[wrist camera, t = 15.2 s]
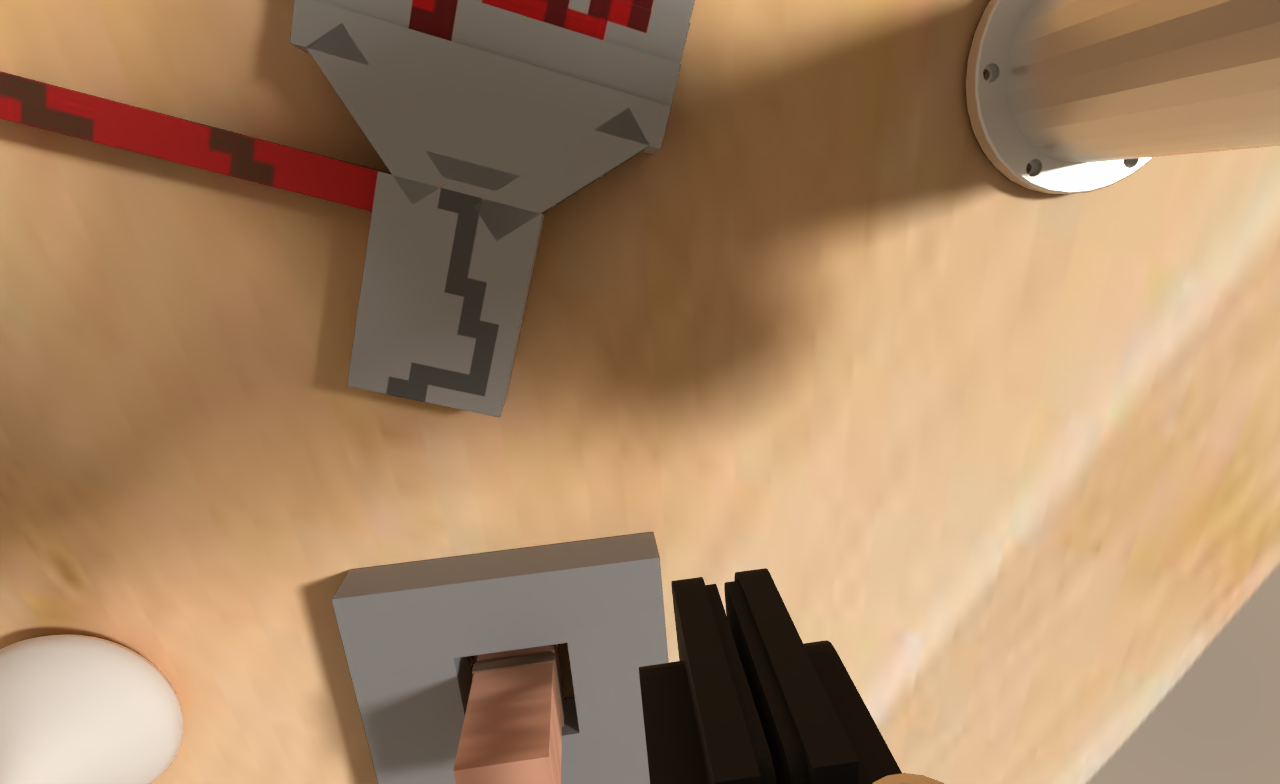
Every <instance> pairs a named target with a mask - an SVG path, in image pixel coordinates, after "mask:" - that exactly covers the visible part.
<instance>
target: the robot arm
mask: <svg viewBox="0 0 1280 784" xmlns="http://www.w3.org/2000/svg"><path fill="white" fill-rule="evenodd" d="M983 73H984V77H983ZM966 97H967V109H968V113H969V117H970V121H971V125H972V129H973V132H974V134H975V136H976V138H977V140H978V142H979V144H980V147H981V149H982V151H983V152H984V153H985V155H986V156H987V157H988V159H989V160H990V161H991V163H992V164H993V165H994V166H995V168H997V169H998V170H999V171H1000V172H1001V173H1003V174H1004V175H1005V176H1006V177H1007V178H1009V179H1010V180H1011V181H1013V182H1015V183H1017V184H1019V185H1021V186H1023V187H1025V188H1027V189H1030V190H1034V191H1038V192H1043V193H1047V194H1073V193H1085V192H1091V191H1094V190H1098V189H1101V188H1104V187H1108V186H1110V185H1112V184H1114V183H1116V182H1118V181H1120V180H1122V179H1124V178H1126V177H1128V176H1130V175H1131V174H1133V173H1134V172H1135V171H1137V170H1138V169H1139V168H1141V167H1142V166H1143V165H1145V164H1146V163H1147V162H1149V161H1150V160H1151V159H1152V158H1153V157H1158V156H1169V155H1180V154H1191V153H1203V152H1214V151H1225V150H1236V149H1247V148H1258V147H1269V146H1280V0H990V2H989V3H988V5H987V7H986V8H985V11H984V13H983V15H982V17H981V20H980V22H979V24H978V27H977V29H976V31H975V34H974V38H973V41H972V45H971V49H970V53H969V57H968V64H967V75H966ZM672 594H673V603H674V613H675V622H676V631H677V641H678V650H679V659H680V661H678V662H671V663H664V664H657V665H650V666H643V667H639V677H640V687H641V697H642V707H643V717H644V727H645V737H646V747H647V757H648V767H649V777H650V784H944V783H942V782H939V781H937V780H934V779H931V778H929V777H926V776H923V775H915V774H907V773H902V772H901V770H900V769H899V767H898V765H897V763H896V761H895V759H894V757H893V756H892V754H891V752H890V750H889V748H888V746H887V744H886V743H885V741H884V739H883V737H882V735H881V733H880V732H879V730H878V728H877V726H876V724H875V722H874V720H873V719H872V717H871V715H870V713H869V711H868V709H867V707H866V706H865V704H864V702H863V700H862V698H861V696H860V694H859V693H858V691H857V689H856V687H855V685H854V683H853V681H852V680H851V678H850V676H849V674H848V672H847V670H846V668H845V667H844V665H843V663H842V661H841V659H840V657H839V655H838V654H837V652H836V650H835V648H834V647H833V645H832V644H831V643H830V642H829V641H820V642H813V643H806V644H803V643H802V640H801V638H800V636H799V634H798V632H797V630H796V628H795V626H794V624H793V621H792V619H791V617H790V615H789V613H788V611H787V609H786V607H785V605H784V602H783V600H782V598H781V596H780V594H779V592H778V590H777V588H776V586H775V584H774V581H773V579H772V577H771V575H770V573H769V571H768V570H767V569H766V568H765V569H758V570H751V571H743V572H736V573H735V581H734V582H726V583H725V601H726V613H725V610H724V607H723V604H722V601H721V598H720V595H719V592H718V589H717V586H716V584H712V585H705V583H704V580H703V578H702V577H699V578H692V579H685V580H677V581H672ZM726 614H727V616H726Z"/></svg>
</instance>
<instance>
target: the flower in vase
mask: <svg viewBox="0 0 1280 784" xmlns="http://www.w3.org/2000/svg"><path fill="white" fill-rule="evenodd" d="M182 735H183V721H182V711H181V707H180V703H179V699H178V697H177V695H176V692H175V690H174V689H173V687H172V685H171V684H170V682H169V681H168V680H167V678H166V677H165V676H164V675H163V673H162V672H161V671H160V670H159V669H158V668H156V667H155V666H154V665H153V664H152V663H151V662H149V661H148V660H147V659H146V658H144V657H143V656H141V655H139V654H138V653H136V652H134V651H133V650H131V649H129V648H126V647H124V646H122V645H120V644H117V643H114V642H111V641H108V640H105V639H101V638H97V637H92V636H85V635H69V634H64V635H50V636H42V637H36V638H30V639H26V640H22V641H19V642H16V643H13V644H11V645H8V646H6V647H4V648H2V649H0V784H149V783H151V782H152V781H153V780H155V779H156V778H157V777H159V776H160V775H161V774H162V773H163V772H164V771H165V770H166V769H167V768H168V767H169V766H170V764H171V763H172V761H173V760H174V758H175V757H176V755H177V752H178V750H179V748H180V744H181V741H182Z"/></svg>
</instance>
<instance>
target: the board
mask: <svg viewBox="0 0 1280 784" xmlns="http://www.w3.org/2000/svg"><path fill="white" fill-rule="evenodd" d="M332 603H333V607H334V611H335V615H336V619H337V623H338V627H339V631H340V635H341V639H342V643H343V647H344V651H345V655H346V659H347V662H348V666H349V670H350V674H351V678H352V682H353V686H354V690H355V694H356V698H357V702H358V706H359V710H360V714H361V717H362V721H363V725H364V729H365V733H366V737H367V741H368V745H369V749H370V753H371V757H372V761H373V765H374V769H375V772H376V776H377V780H378V784H456V782H455V777H454V772H453V770H454V765H455V760H456V756H457V751H458V746H459V742H460V737H461V732H462V727H463V723H464V718H465V713H466V709H467V704H468V699H469V694H470V690H471V685H472V675H471V670H470V664H469V659H468V656H473V655H481V654H488V653H495V652H503V651H510V650H517V649H525V648H532V647H539V646H547V645H554V644H561V643H567V644H568V651H569V659H570V666H571V673H572V681H573V688H574V695H575V698H568V699H563V713H564V726H563V727H562V757H561V784H650V777H649V767H648V757H647V747H646V737H645V727H644V717H643V707H642V697H641V687H640V677H639V667H643V666H650V665H657V664H664V663H668V651H667V639H666V627H665V615H664V603H663V591H662V580H661V568H660V557H659V553H658V549H657V545H656V541H655V537H654V533H653V532H647V533H639V534H631V535H623V536H615V537H607V538H599V539H591V540H583V541H575V542H567V543H559V544H551V545H543V546H535V547H527V548H519V549H512V550H504V551H496V552H488V553H480V554H472V555H464V556H456V557H448V558H440V559H432V560H424V561H416V562H408V563H400V564H392V565H384V566H376V567H368V568H360V569H352V570H349V572H348V574H347V575H346V577H345V579H344V580H343V582H342V583H341V585H340V587H339V588H338V590H337V592H336V593H335V595H334V596H333V598H332Z"/></svg>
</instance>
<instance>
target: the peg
mask: <svg viewBox="0 0 1280 784" xmlns="http://www.w3.org/2000/svg"><path fill="white" fill-rule="evenodd" d="M472 675H473V680H472V685H471V690H470V694H469V699H468V704H467V709H466V713H465V718H464V723H463V727H462V732H461V737H460V742H459V746H458V751H457V756H456V760H455V765H454V770H453V772H454V777H455V782H456V784H561V757H562V727H563V726H564V713H563V682H562V675H561V668H560V661H559V654H558V647H557V644H554V645H547V646H539V647H532V648H525V649H517V650H510V651H503V652H495V653H488V654H481V655H478V657H477V661H476V663H474V665H473V670H472Z"/></svg>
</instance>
